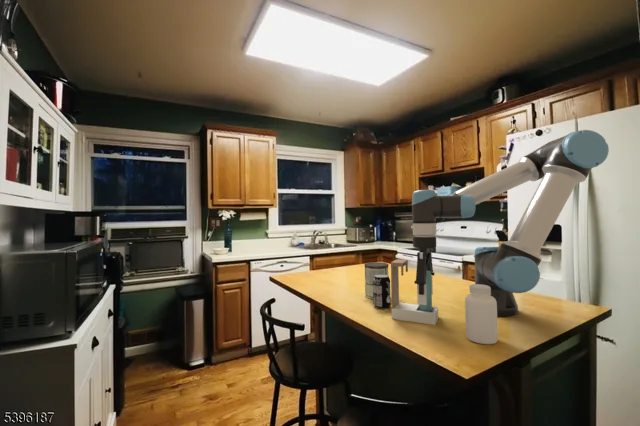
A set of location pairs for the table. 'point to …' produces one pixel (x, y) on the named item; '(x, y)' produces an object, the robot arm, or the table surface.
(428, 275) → the peg
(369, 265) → the coffee can
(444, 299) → the table surface
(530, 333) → the table surface
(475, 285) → the pill bottle
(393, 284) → the station
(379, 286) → the beverage can
